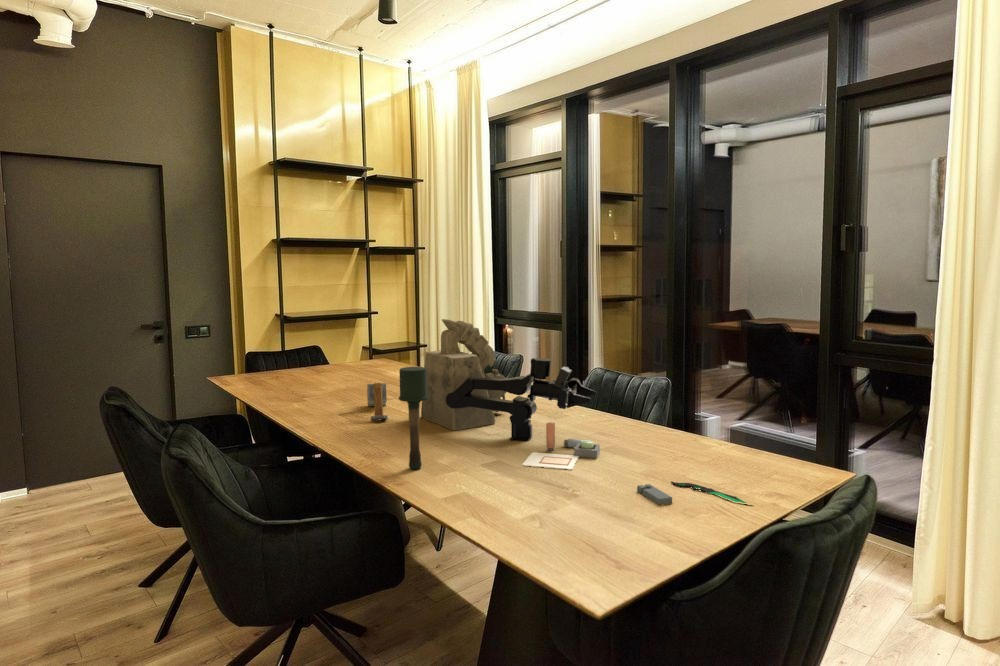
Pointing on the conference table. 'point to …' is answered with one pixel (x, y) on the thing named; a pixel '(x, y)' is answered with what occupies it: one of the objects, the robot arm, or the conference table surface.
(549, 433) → the salmon rounded cylinder
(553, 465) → the sheet
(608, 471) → the conference table surface
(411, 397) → the stick grenade
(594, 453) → the button housing
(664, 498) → the bracket
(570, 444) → the grey cylinder
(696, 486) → the knife
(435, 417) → the sculpture
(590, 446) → the button
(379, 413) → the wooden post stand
